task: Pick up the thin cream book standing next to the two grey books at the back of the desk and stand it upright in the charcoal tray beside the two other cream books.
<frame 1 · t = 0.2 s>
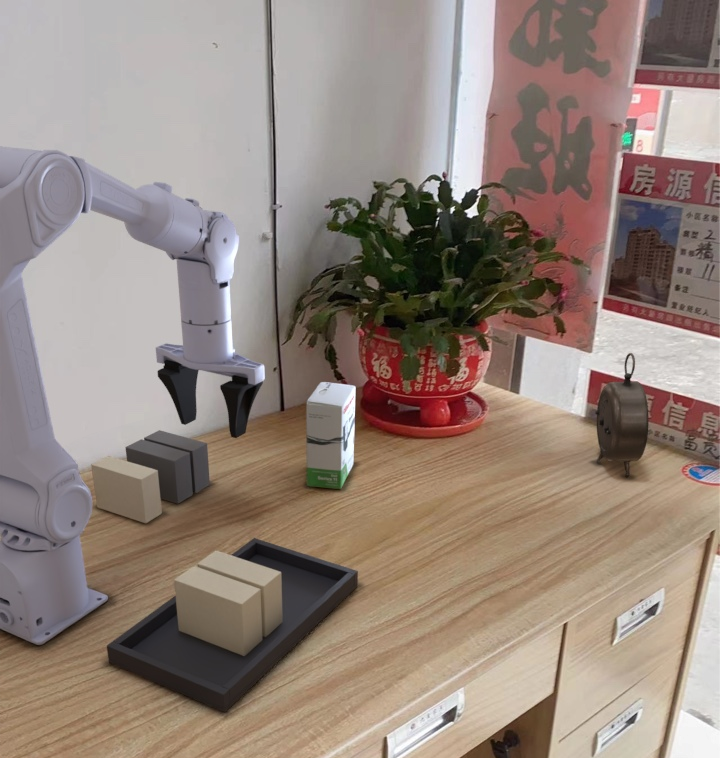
hand: (213, 428, 108), 10 cm above the table, tool pointing down, fingers open, 7 cm apart
ink box: (330, 476, 120), on the table
grey book 2: (178, 481, 117), on the table
alarm clock: (612, 465, 125), on the table
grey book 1: (161, 492, 114), on the table
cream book: (129, 510, 110), on the table
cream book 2: (241, 617, 89), resting on tray
tray: (241, 621, 89), on the table
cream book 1: (220, 635, 86), resting on tray
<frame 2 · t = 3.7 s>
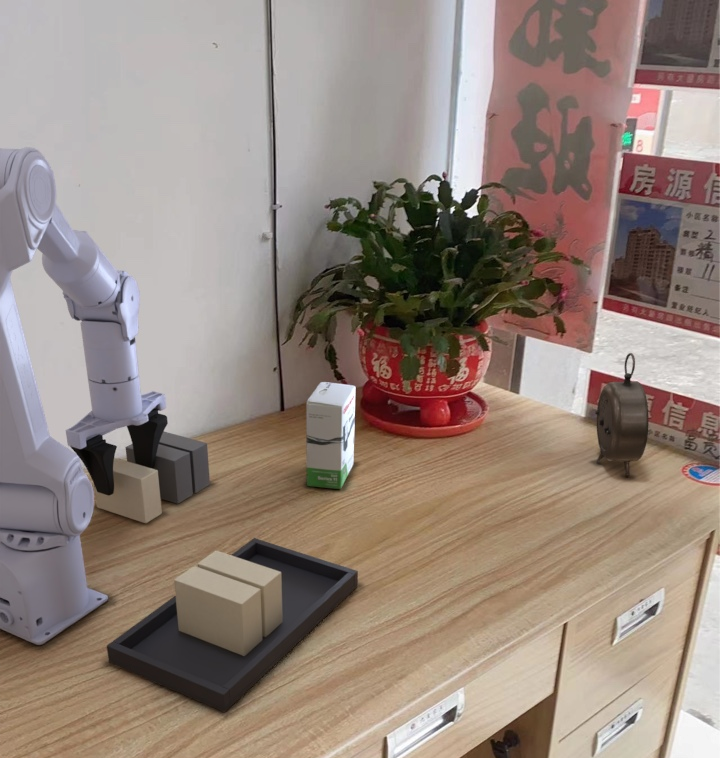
hand: (126, 481, 108), 4 cm above the table, tool pointing down, fingers open, 6 cm apart
nothing on the table moved.
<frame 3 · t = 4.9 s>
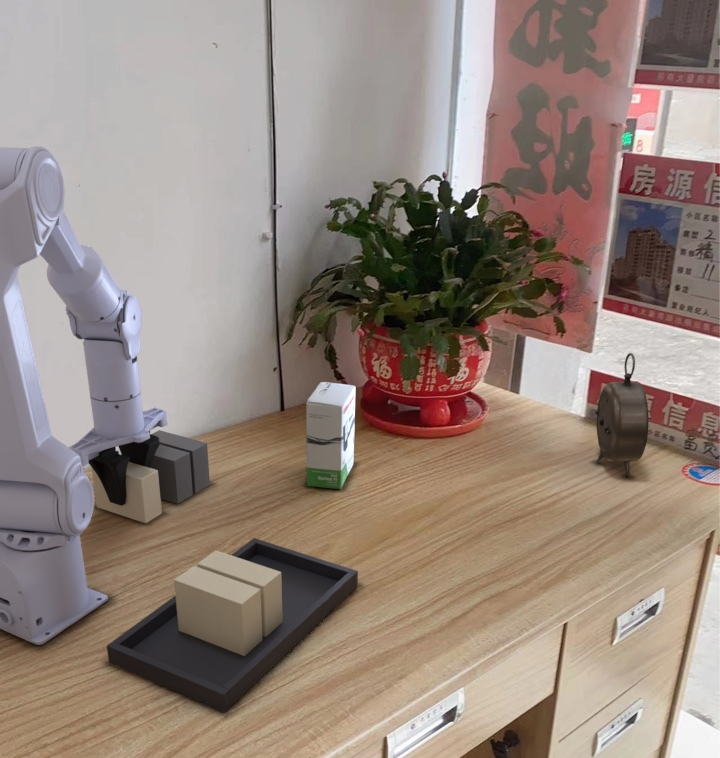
hand: (127, 497, 109), 2 cm above the table, tool pointing down, fingers closed on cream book, 3 cm apart
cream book: (129, 510, 110), on the table, touching gripper
everything else where it was.
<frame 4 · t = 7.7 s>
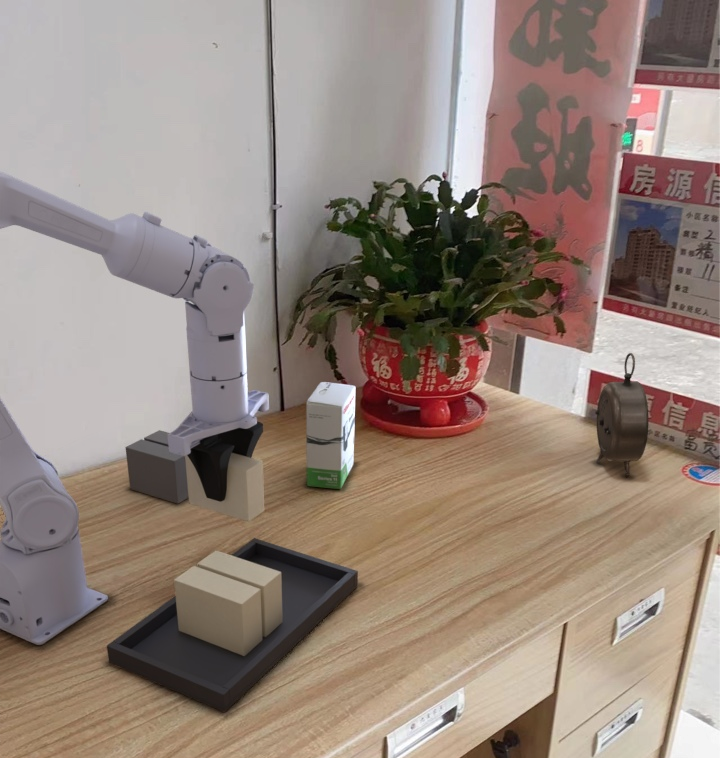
hand: (225, 492, 95), 9 cm above the table, tool pointing down, fingers closed on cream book, 3 cm apart
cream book: (226, 507, 96), point 7 cm above the table, touching gripper
everything else where it was.
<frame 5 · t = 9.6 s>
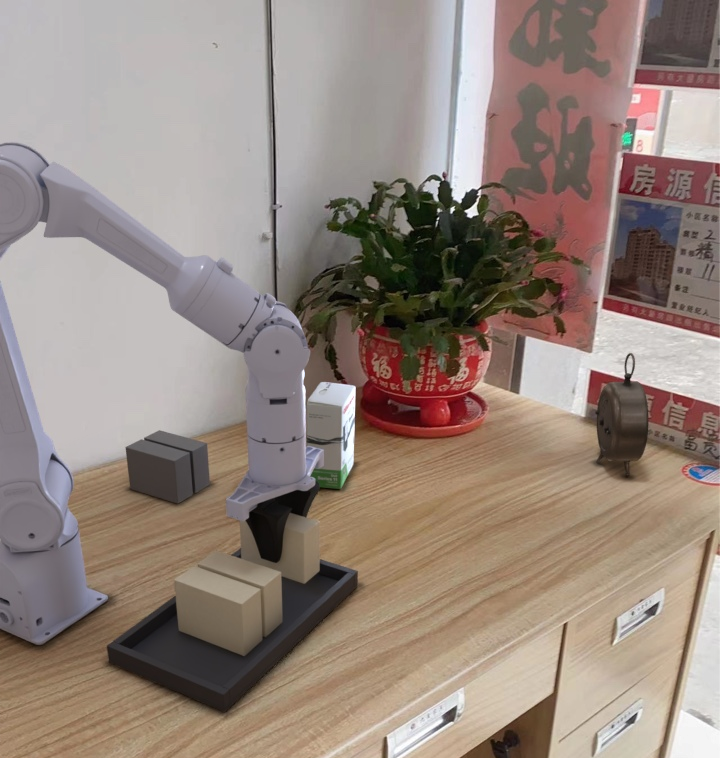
hand: (279, 551, 92), 5 cm above the table, tool pointing down, fingers closed on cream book, 3 cm apart
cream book: (280, 567, 93), point 3 cm above the table, touching gripper
everything else where it was.
when the fingers open (2 cm above the table, at t = 10.7 s): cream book stays where it is, resting on tray.
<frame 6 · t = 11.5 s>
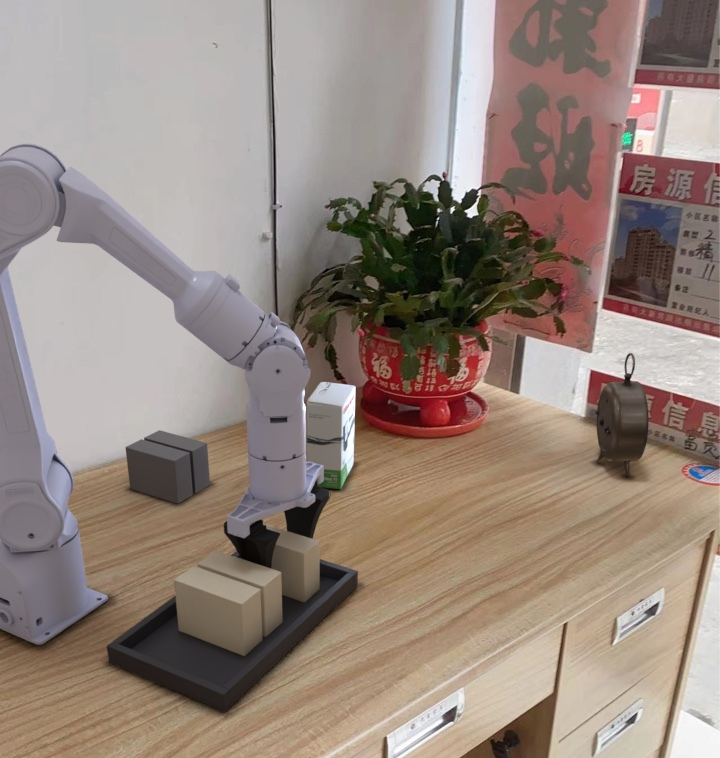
hand: (279, 566, 93), 3 cm above the table, tool pointing down, fingers open, 7 cm apart
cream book: (280, 585, 94), resting on tray
everything else where it was.
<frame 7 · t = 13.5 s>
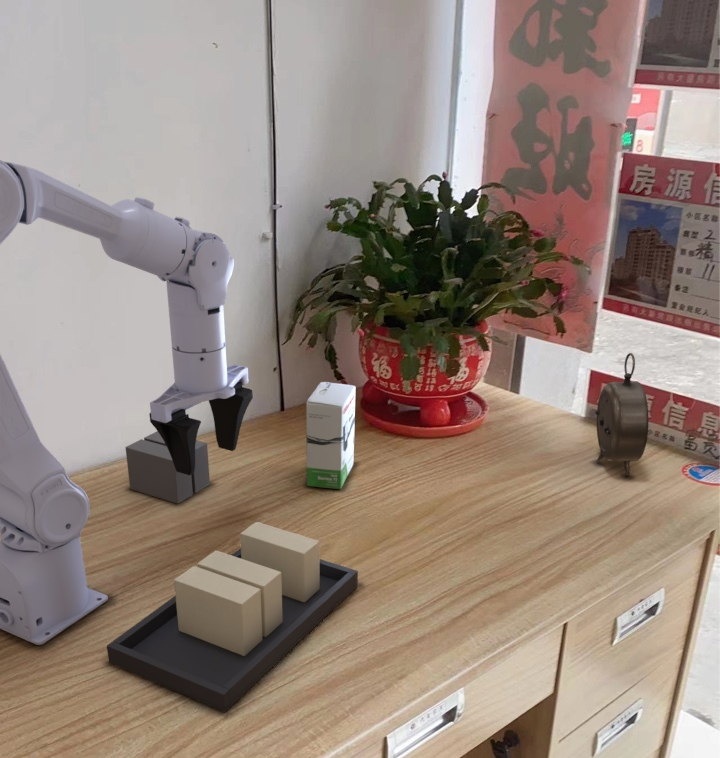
hand: (206, 460, 101), 9 cm above the table, tool pointing down, fingers open, 7 cm apart
nothing on the table moved.
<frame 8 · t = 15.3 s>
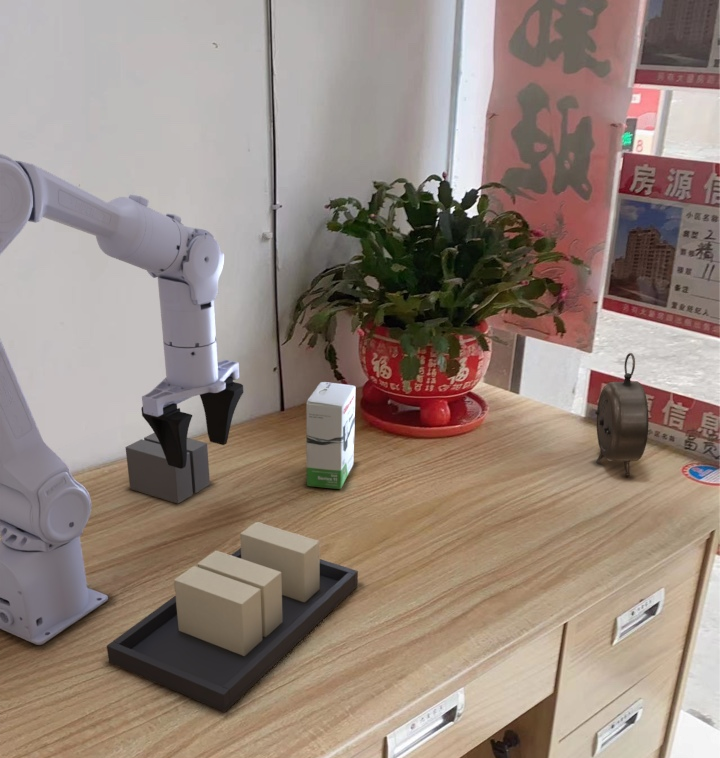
hand: (198, 453, 102), 9 cm above the table, tool pointing down, fingers open, 7 cm apart
nothing on the table moved.
at the end: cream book 0.0 cm from the target spot in the tray, point 0.5 cm above the tray's base; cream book tilted 0°; the gripper is holding nothing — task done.
